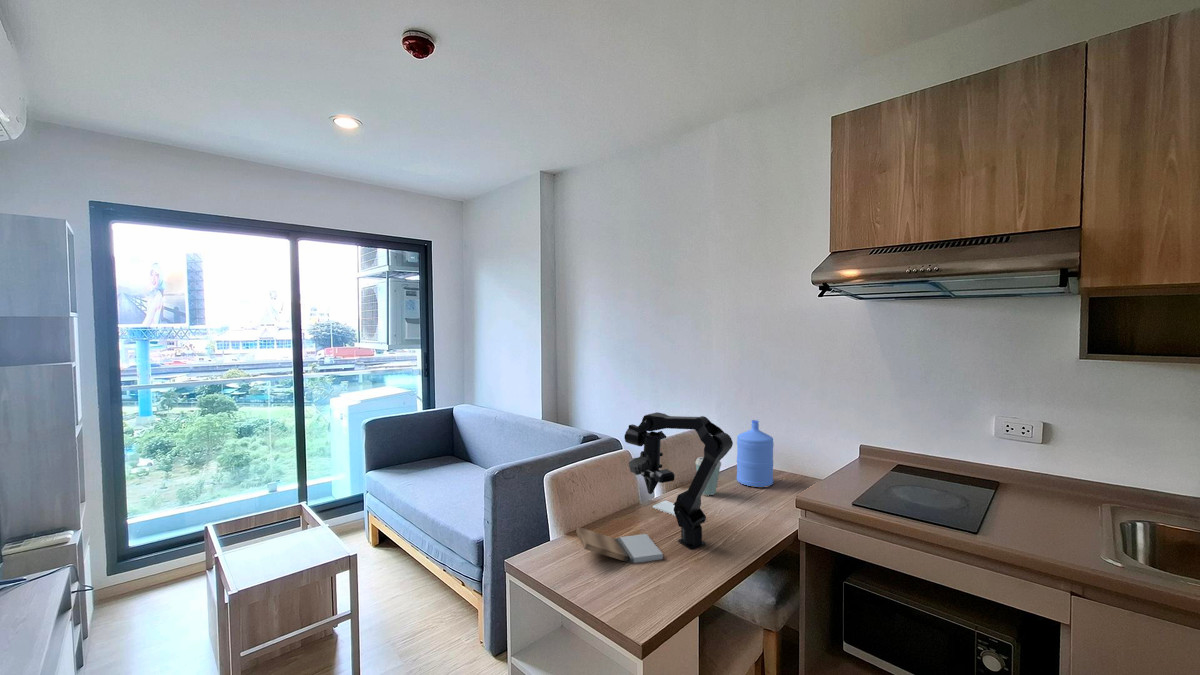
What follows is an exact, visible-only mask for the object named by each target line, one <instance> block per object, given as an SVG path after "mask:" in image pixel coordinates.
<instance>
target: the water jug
mask: <svg viewBox="0 0 1200 675" xmlns="http://www.w3.org/2000/svg"><path fill="white" fill-rule="evenodd" d="M750 422H751V427H750V428H751V429H749V430H747V431H744V432H741V433H739V434H738V435H737V438H736V445H737V449H736V450H737V451H736V454H737V456H736V481H737V482H738V483H739V482H740V483H741V484H740V483H739V484H740V485H742V484H744V485H747V486H746V487H748V486H754V487H765V486H770V485H772V484H774V438H773V436H771V435H770V434H767V433H765V432H763V431H762V430H760V428H759V427H760V424H759V422H760V421H759V420H758V419H757V420H755V419H754V420H753V419H752V420H751V421H750ZM744 485H743V486H744ZM772 486H773V485H772ZM770 487H771V486H770Z"/></svg>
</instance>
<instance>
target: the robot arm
mask: <svg viewBox="0 0 1200 675" xmlns="http://www.w3.org/2000/svg"><path fill="white" fill-rule="evenodd" d="M664 429H665V430H666V429H676V430H694V431H695V432H696V433H697V434H698V437H699V439H700V441H701V443H703V444H704V448H703V457H704V458H703V460H702V462H701V464H700V467H699V469H698V471H697V470H696V472H695V475H694V477H693V479H692V481H691V483H690V485H689V487H688V489H687V490H686V491H685V490H684V491H683V492H681V493H679V494H678V495H677V497H676V499H675V501H674V502H673V503H674V504H673V505H675V506H674V512H675V515H676V516H675V519H676V521H677V525H678V528H679V527H680V528H681V529H680V530H681V531H680V532H681V533H680V534H681V536H680V537H681V538H680V539H678V540H677V542H678V543H680V544H681V545H682V546H685V547H686V548H688V549H689V550H693V549H696V548H697V549H698V548H700V547H703V546H705V545H706V544H707V543H706V542H704V541H703V526H702V524H703V523H705V522H706V519H707V516H706V514H705V513H704V512H703V510H702V508H701V505H702V496H703V495H702V494H703V492H704V490H705V488H706V486H707V484H708V482H709V480H710V478H711V476H712V474H713V472H714V470H715V468H716V466H717V464H718V462H719V461H720V462H721V460H722V459H723V458H724V457H725V456H726V455H727V454H729V453H728V452H730V450H731V449H732V447H733V444H734V442H733V440H732V436H730V435H729V434H728V433H726V432H725V431H724V430H722V428H721V427H719V426H718V425H717V424H715V423H713V422H711V421H710V419H709V418H708V417H706V416H704V415H702V416H701V415H700V416H678V415H677V416H675V415H674V416H671V415H668V414H666V413H662V412H653V413H648V414H645V415H644V416H643V417H642V421H641V422H640V424H639V425H636V424H629V425H628V428H627V429H626V431H625V434H624V436H623V437H624V441H625V442H626V444H630V445H634V446H638V447H643V450H642V451H640V456H639V457H633V458H631V459H630V460H629V462H628V463H627V464H628V467H629V471H630V473H633V474H635V475H636V476H639V475H640V476H641V477H643V479H644V482H645V486H646V489H647V493H648V494H649V495H652V494H653V493H654V491H655V490H656V488H657V485H658V484H659V483H660V484H663V483H669V482H674V481H675V476H676V475H675V473H674V472H673V471H671V470H669V469H668V468H666V469H665V468H664V469H662V468H663V464H661V457H663V455H664V452H662V451H661V444H662V440H664V439H667V435H666V434H665V433H664V432H663V431H662V430H664Z"/></svg>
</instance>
